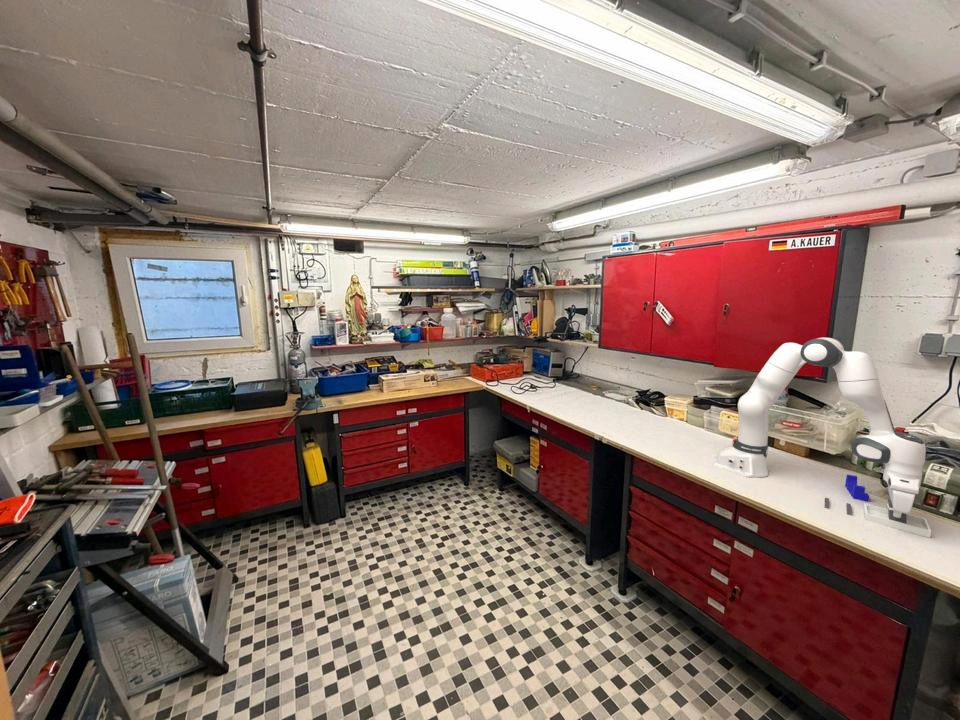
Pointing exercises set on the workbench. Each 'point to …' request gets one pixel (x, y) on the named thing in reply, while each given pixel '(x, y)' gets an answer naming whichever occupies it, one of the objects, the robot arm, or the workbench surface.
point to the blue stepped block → (856, 489)
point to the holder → (848, 506)
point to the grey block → (891, 517)
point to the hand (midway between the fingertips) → (895, 513)
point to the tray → (881, 517)
